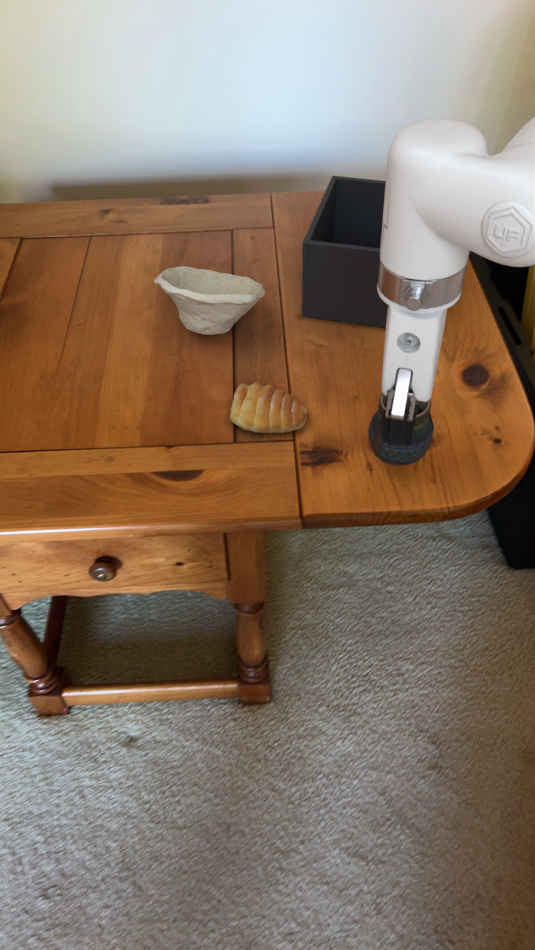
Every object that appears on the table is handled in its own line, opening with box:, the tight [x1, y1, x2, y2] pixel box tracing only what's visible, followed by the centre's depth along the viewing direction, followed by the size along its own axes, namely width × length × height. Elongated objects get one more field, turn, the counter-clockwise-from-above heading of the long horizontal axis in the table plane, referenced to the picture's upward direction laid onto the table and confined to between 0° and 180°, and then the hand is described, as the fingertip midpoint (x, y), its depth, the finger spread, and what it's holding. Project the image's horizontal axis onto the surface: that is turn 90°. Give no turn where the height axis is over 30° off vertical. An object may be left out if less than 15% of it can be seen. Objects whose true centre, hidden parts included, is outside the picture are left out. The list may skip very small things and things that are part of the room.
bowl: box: [153, 265, 266, 336], centre depth 91 cm, size 15×14×10 cm
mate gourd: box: [367, 383, 435, 467], centre depth 73 cm, size 7×8×10 cm
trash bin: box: [301, 175, 388, 329], centre depth 95 cm, size 17×19×12 cm
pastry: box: [229, 381, 309, 434], centre depth 81 cm, size 9×7×4 cm
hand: (401, 417), depth 72 cm, fingers closed on mate gourd, 6 cm apart
